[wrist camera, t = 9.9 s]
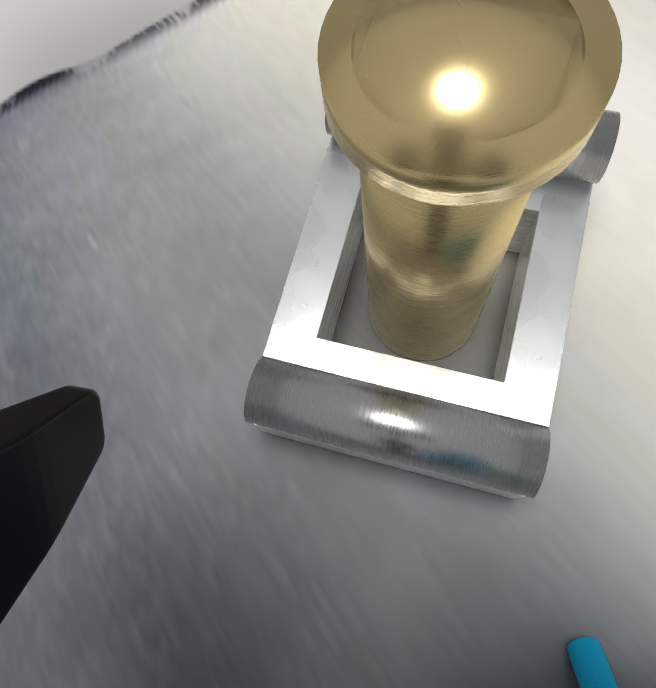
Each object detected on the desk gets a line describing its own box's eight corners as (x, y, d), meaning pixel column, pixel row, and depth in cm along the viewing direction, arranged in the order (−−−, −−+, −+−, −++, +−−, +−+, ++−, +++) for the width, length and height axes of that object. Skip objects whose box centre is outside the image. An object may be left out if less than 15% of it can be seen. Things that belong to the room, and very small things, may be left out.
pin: (445, 404, 22) (522, 229, 10) (326, 327, 23) (259, 86, 11) (520, 290, 23) (676, 1, 11) (402, 223, 24) (420, -105, 12)
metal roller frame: (513, 502, 21) (556, 492, 16) (262, 434, 22) (225, 405, 17) (572, 190, 24) (624, 96, 19) (349, 148, 25) (340, 50, 20)
